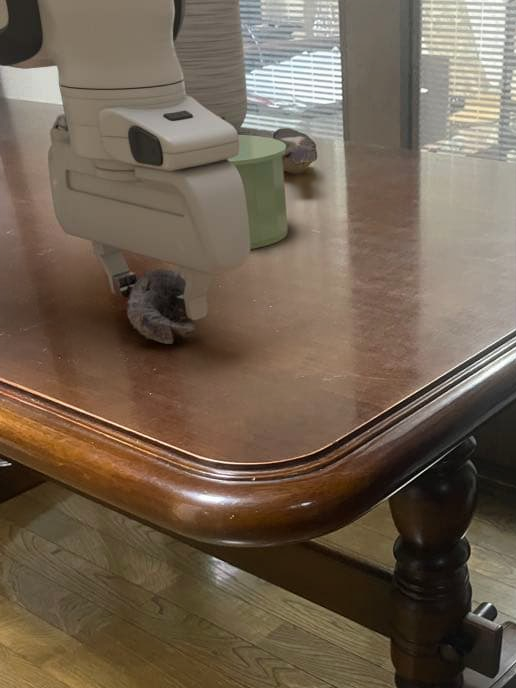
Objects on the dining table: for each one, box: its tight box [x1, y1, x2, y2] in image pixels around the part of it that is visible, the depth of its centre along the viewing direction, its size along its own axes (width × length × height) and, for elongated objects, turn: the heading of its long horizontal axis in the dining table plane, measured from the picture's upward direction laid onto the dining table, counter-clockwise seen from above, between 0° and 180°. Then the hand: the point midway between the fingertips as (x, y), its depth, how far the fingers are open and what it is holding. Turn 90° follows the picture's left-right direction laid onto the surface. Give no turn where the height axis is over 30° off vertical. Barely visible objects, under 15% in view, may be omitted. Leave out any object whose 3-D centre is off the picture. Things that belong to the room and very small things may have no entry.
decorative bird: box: [272, 127, 318, 175], centre depth 119 cm, size 6×25×5 cm, turn 14°
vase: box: [174, 0, 248, 132], centre depth 132 cm, size 20×20×34 cm
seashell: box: [126, 268, 196, 345], centre depth 73 cm, size 5×5×10 cm
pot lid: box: [215, 114, 286, 166], centre depth 92 cm, size 15×15×4 cm
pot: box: [235, 156, 289, 250], centre depth 95 cm, size 14×14×8 cm
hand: (159, 305), depth 73 cm, fingers closed on seashell, 7 cm apart
